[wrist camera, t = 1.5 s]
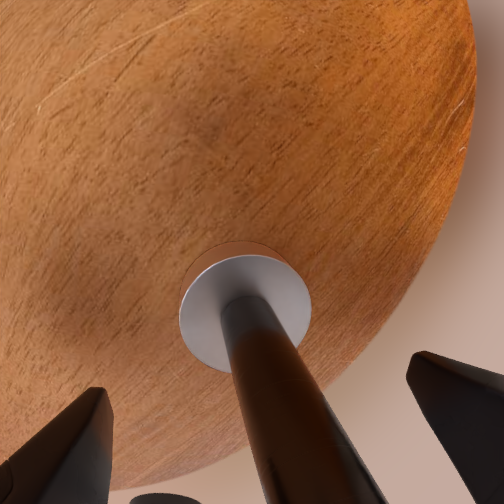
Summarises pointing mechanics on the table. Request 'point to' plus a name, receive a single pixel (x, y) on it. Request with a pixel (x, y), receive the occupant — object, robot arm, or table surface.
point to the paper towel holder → (271, 373)
